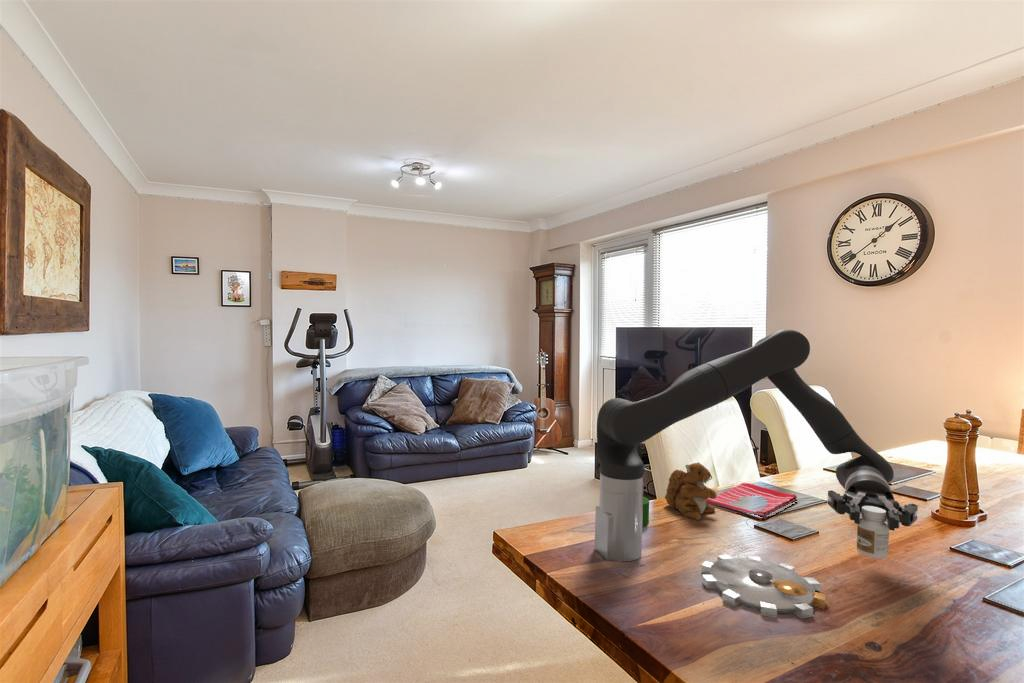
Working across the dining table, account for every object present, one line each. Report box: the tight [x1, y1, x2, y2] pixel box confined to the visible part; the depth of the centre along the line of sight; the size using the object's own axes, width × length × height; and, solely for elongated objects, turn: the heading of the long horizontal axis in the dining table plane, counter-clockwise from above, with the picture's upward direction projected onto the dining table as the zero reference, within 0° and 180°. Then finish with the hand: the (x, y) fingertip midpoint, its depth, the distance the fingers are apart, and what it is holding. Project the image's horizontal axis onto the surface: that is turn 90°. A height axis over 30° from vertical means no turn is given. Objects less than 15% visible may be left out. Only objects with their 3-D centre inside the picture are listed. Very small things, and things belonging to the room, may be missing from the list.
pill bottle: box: [856, 506, 890, 560], centre depth 87 cm, size 4×4×8 cm
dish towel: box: [705, 482, 798, 518], centre depth 145 cm, size 17×24×3 cm
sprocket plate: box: [700, 554, 827, 619], centre depth 97 cm, size 21×21×2 cm
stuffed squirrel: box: [663, 462, 717, 521], centre depth 138 cm, size 10×14×13 cm
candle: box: [642, 496, 650, 527], centre depth 130 cm, size 8×8×10 cm
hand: (874, 521), depth 85 cm, fingers closed on pill bottle, 4 cm apart
